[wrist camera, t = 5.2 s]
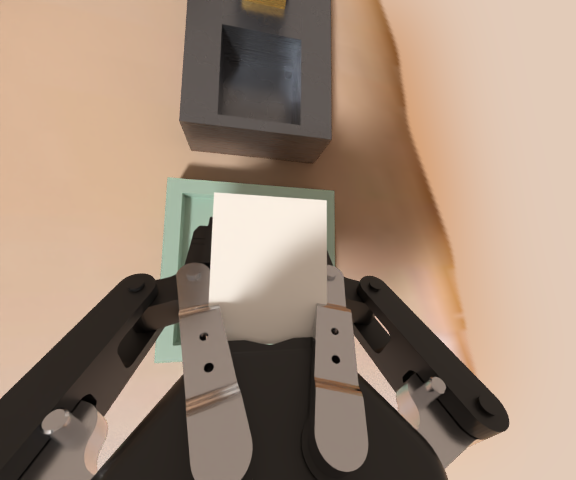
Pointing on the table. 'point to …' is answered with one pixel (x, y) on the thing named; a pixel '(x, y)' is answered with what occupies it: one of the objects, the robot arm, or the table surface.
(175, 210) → the tray
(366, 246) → the table surface
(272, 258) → the plug
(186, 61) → the grey charging dock
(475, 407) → the robot arm
